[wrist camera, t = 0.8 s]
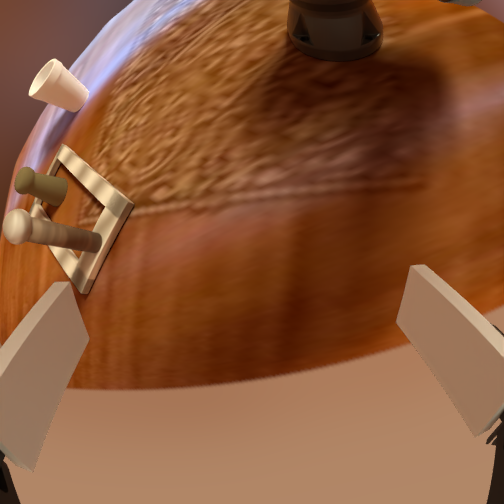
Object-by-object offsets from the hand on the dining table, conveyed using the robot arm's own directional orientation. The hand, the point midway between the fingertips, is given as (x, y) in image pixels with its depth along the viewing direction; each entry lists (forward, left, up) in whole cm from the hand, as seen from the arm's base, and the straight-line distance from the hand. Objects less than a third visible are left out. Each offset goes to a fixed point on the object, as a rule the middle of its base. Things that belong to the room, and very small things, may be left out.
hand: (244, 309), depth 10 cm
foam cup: (-37, -53, -23) cm, 69 cm away
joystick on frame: (-10, -43, -23) cm, 50 cm away
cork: (-14, -50, -23) cm, 57 cm away
